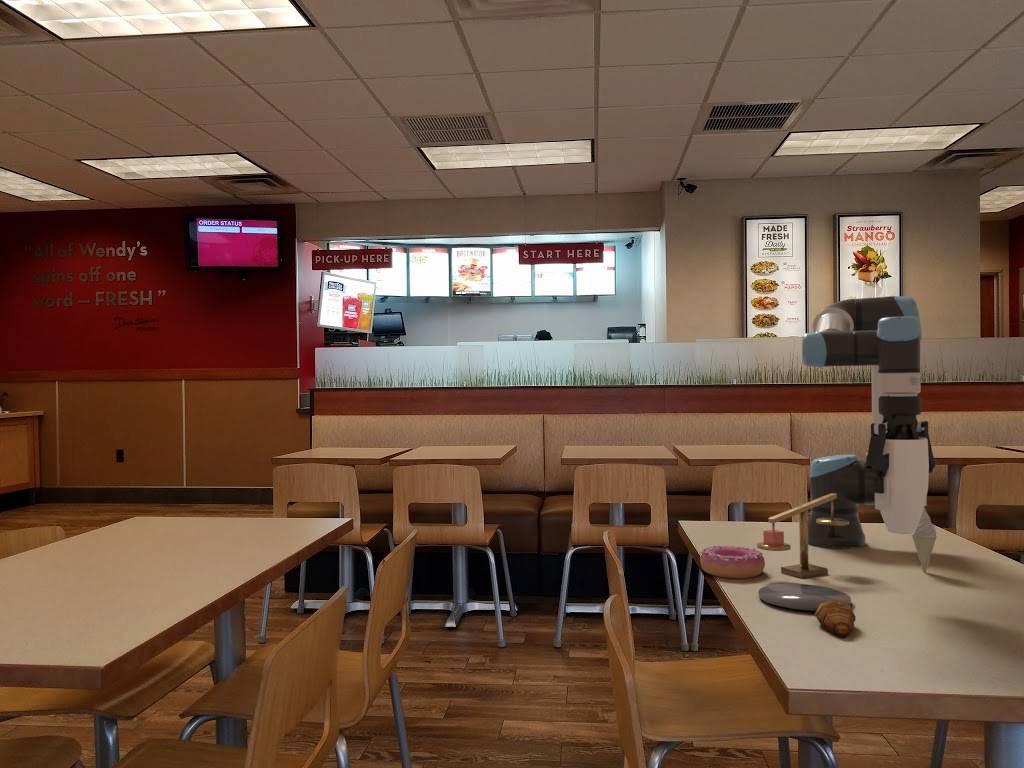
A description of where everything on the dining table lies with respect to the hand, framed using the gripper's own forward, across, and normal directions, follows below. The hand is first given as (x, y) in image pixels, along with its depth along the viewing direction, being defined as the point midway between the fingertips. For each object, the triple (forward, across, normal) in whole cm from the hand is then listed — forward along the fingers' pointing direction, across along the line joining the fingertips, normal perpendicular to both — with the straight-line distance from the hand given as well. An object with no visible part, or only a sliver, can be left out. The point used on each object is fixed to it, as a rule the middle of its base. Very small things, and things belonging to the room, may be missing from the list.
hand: (901, 507), depth 151 cm
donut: (+19, -15, +32) cm, 40 cm away
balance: (+18, -2, +24) cm, 30 cm away
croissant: (+18, -26, -6) cm, 32 cm away
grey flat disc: (+18, -18, +8) cm, 27 cm away
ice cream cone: (+19, +22, +12) cm, 31 cm away
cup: (+8, 0, 0) cm, 8 cm away
